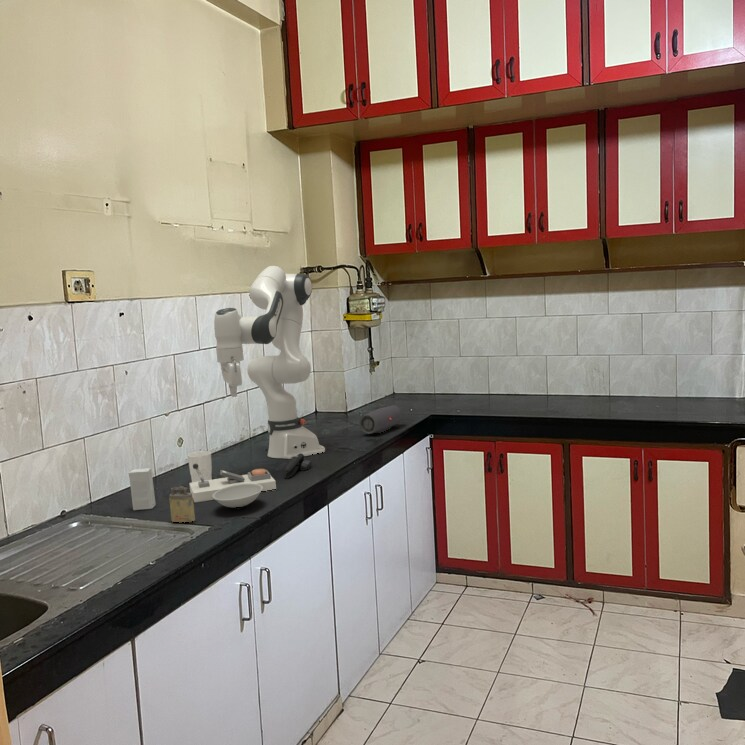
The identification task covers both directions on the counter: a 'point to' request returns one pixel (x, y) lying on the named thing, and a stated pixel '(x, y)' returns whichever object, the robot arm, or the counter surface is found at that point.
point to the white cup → (200, 465)
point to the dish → (237, 495)
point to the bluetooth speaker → (380, 419)
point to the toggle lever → (198, 472)
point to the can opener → (296, 465)
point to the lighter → (181, 505)
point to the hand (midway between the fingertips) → (233, 396)
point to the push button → (258, 472)
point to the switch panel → (209, 487)
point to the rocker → (232, 475)
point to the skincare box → (142, 489)
